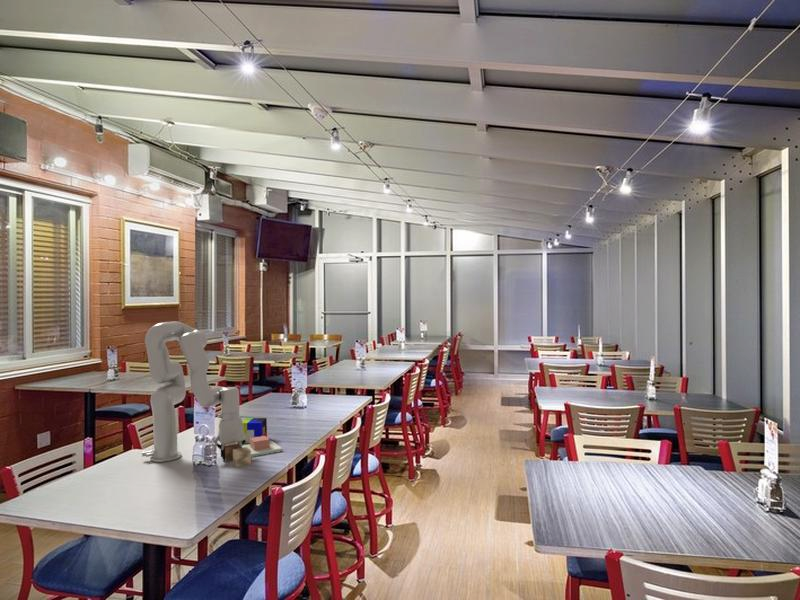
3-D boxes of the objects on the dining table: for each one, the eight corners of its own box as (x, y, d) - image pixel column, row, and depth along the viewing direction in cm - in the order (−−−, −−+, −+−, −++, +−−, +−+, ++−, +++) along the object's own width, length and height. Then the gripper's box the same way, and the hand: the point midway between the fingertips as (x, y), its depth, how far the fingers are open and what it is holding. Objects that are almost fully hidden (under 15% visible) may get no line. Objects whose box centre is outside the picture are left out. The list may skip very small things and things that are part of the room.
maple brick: (236, 467, 211) (236, 453, 211) (233, 463, 216) (232, 449, 216) (251, 464, 214) (250, 450, 214) (247, 460, 219) (246, 447, 219)
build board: (247, 457, 223) (246, 445, 223) (237, 448, 237) (237, 437, 236) (282, 451, 231) (282, 439, 231) (271, 442, 245) (271, 432, 245)
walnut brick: (226, 461, 218) (225, 447, 218) (222, 458, 223) (222, 444, 223) (240, 459, 221) (239, 445, 221) (236, 455, 226) (236, 442, 226)
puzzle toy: (261, 443, 244) (260, 422, 244) (240, 444, 245) (240, 423, 244) (267, 437, 254) (266, 417, 254) (247, 438, 255) (246, 418, 254)
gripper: (211, 420, 214) (212, 463, 215) (252, 414, 223) (253, 455, 224) (208, 417, 221) (209, 458, 221) (248, 411, 230) (249, 451, 230)
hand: (231, 456), depth 222 cm, fingers closed on walnut brick, 6 cm apart
